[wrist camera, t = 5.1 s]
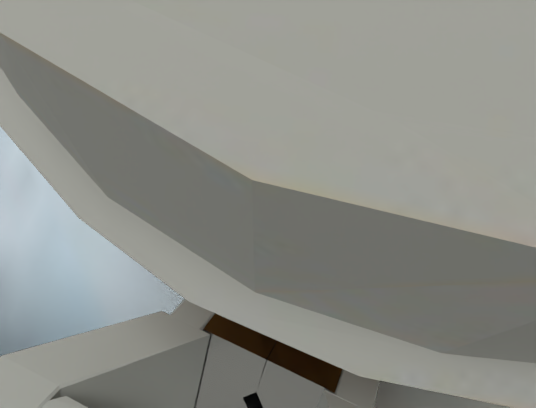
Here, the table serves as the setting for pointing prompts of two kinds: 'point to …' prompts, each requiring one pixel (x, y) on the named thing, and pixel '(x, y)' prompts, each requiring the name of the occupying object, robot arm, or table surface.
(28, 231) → the table surface
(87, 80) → the disposable coffee cup
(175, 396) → the robot arm
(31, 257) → the table surface
